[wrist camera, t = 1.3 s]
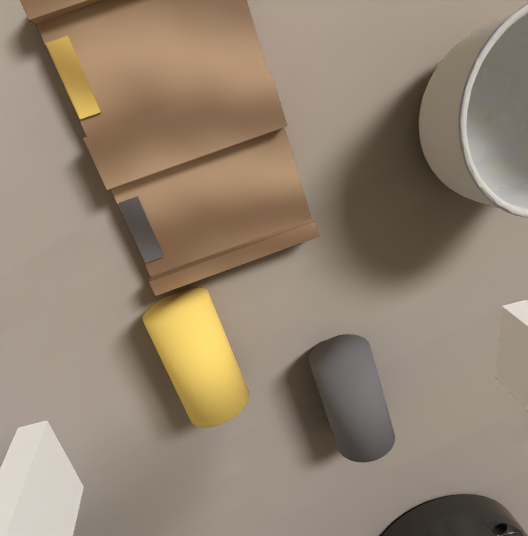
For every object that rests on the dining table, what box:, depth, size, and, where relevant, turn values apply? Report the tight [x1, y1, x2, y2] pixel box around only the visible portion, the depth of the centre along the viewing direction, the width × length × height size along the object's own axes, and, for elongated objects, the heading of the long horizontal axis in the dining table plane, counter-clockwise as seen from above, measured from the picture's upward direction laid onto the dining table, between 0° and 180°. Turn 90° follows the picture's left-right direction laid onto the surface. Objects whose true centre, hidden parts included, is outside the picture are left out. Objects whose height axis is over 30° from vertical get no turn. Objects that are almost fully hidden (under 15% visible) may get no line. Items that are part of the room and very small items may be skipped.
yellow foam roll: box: [142, 288, 249, 427], centre depth 29 cm, size 8×4×4 cm, turn 18°
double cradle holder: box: [20, 0, 319, 296], centre depth 26 cm, size 17×11×2 cm, turn 18°
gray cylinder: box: [308, 335, 395, 462], centre depth 32 cm, size 8×4×4 cm, turn 18°
